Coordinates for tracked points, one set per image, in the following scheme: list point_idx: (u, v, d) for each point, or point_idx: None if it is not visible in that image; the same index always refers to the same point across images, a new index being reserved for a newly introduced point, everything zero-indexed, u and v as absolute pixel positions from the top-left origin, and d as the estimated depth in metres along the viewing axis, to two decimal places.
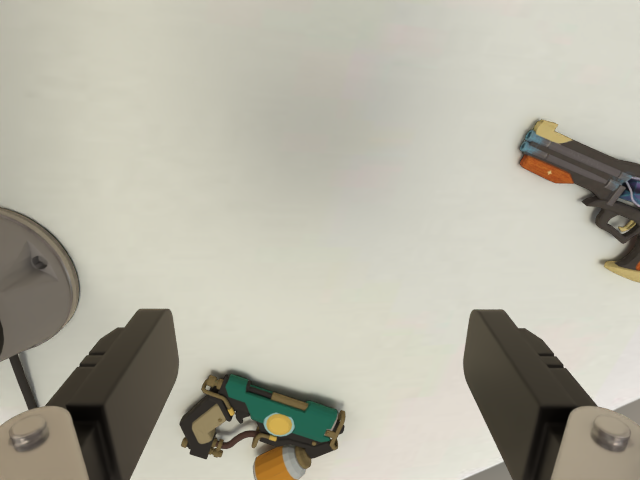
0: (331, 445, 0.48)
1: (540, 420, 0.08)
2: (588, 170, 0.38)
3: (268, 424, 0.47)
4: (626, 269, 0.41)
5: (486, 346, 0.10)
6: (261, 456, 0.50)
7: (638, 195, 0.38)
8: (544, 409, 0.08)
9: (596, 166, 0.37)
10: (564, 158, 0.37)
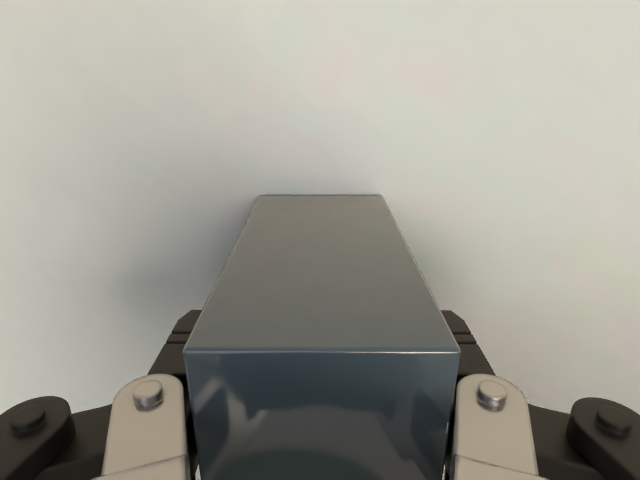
0: None
1: None
2: None
3: None
4: None
5: None
6: None
7: None
8: None
9: None
10: None
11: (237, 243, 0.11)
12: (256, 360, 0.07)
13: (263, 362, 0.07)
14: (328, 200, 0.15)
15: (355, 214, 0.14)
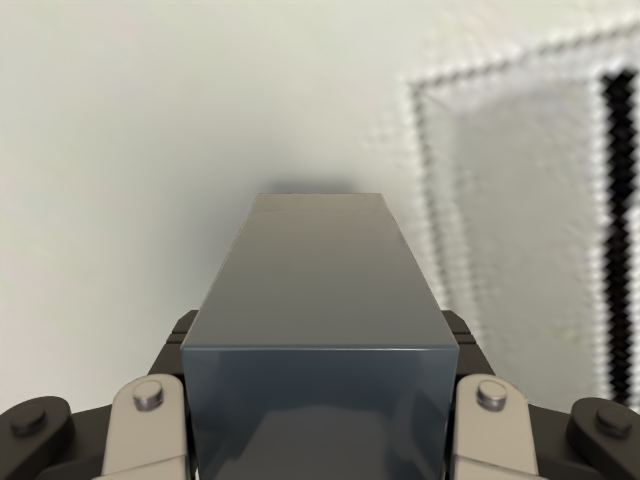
0: None
1: None
2: None
3: None
4: None
5: None
6: None
7: None
8: None
9: None
10: None
11: (236, 241, 0.11)
12: (254, 357, 0.07)
13: (261, 359, 0.07)
14: (327, 199, 0.15)
15: (355, 212, 0.14)
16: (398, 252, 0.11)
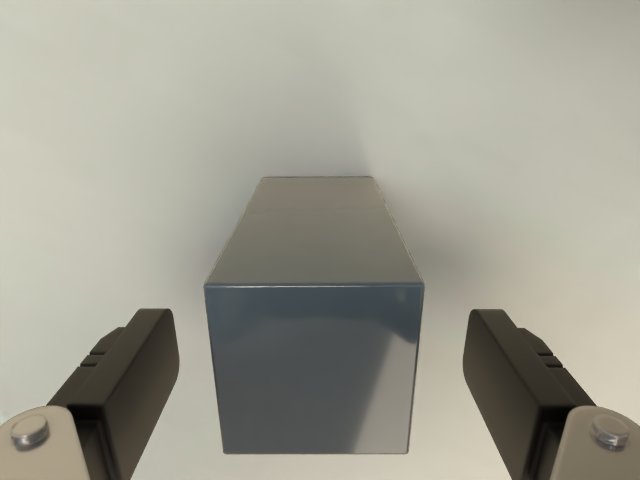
0: None
1: (539, 419, 0.08)
2: None
3: None
4: None
5: (485, 346, 0.10)
6: None
7: None
8: (543, 408, 0.08)
9: None
10: None
11: (244, 213, 0.13)
12: (261, 292, 0.09)
13: (267, 295, 0.09)
14: (324, 181, 0.17)
15: (347, 191, 0.15)
16: (383, 221, 0.12)
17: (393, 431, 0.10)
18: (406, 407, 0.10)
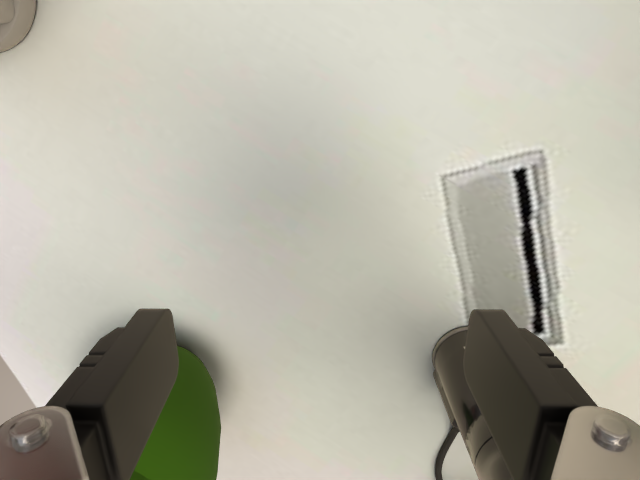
0: None
1: (540, 420, 0.08)
2: None
3: None
4: None
5: (486, 346, 0.10)
6: None
7: None
8: (544, 409, 0.08)
9: None
10: None
11: None
12: None
13: None
14: None
15: None
16: None
17: None
18: None
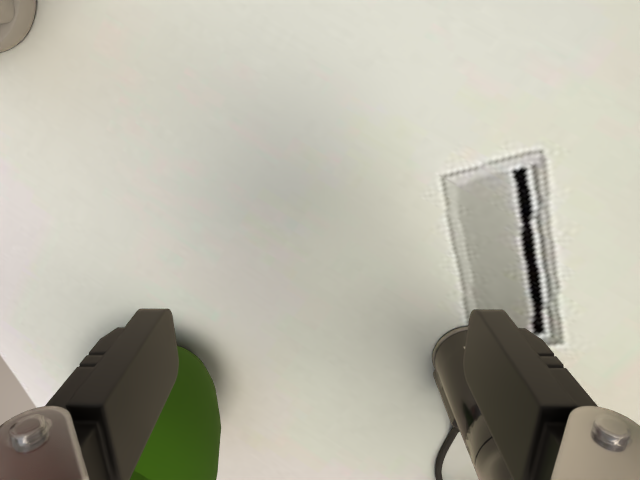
0: None
1: (540, 420, 0.08)
2: None
3: None
4: None
5: (486, 346, 0.10)
6: None
7: None
8: (544, 409, 0.08)
9: None
10: None
11: None
12: None
13: None
14: None
15: None
16: None
17: None
18: None
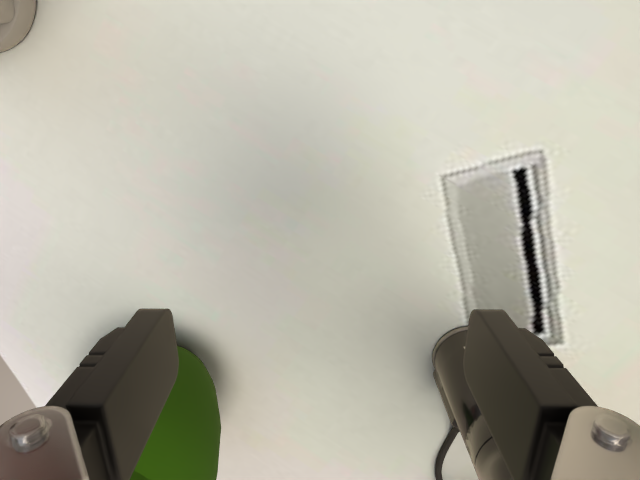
0: None
1: (540, 420, 0.08)
2: None
3: None
4: None
5: (486, 346, 0.10)
6: None
7: None
8: (544, 409, 0.08)
9: None
10: None
11: None
12: None
13: None
14: None
15: None
16: None
17: None
18: None
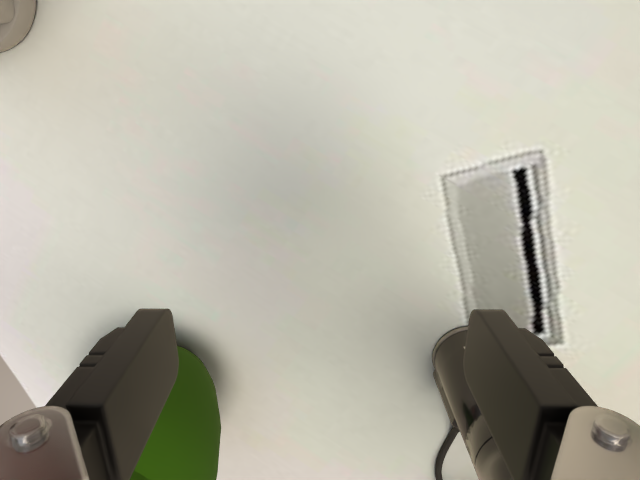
0: None
1: (540, 420, 0.08)
2: None
3: None
4: None
5: (486, 346, 0.10)
6: None
7: None
8: (544, 409, 0.08)
9: None
10: None
11: None
12: None
13: None
14: None
15: None
16: None
17: None
18: None
